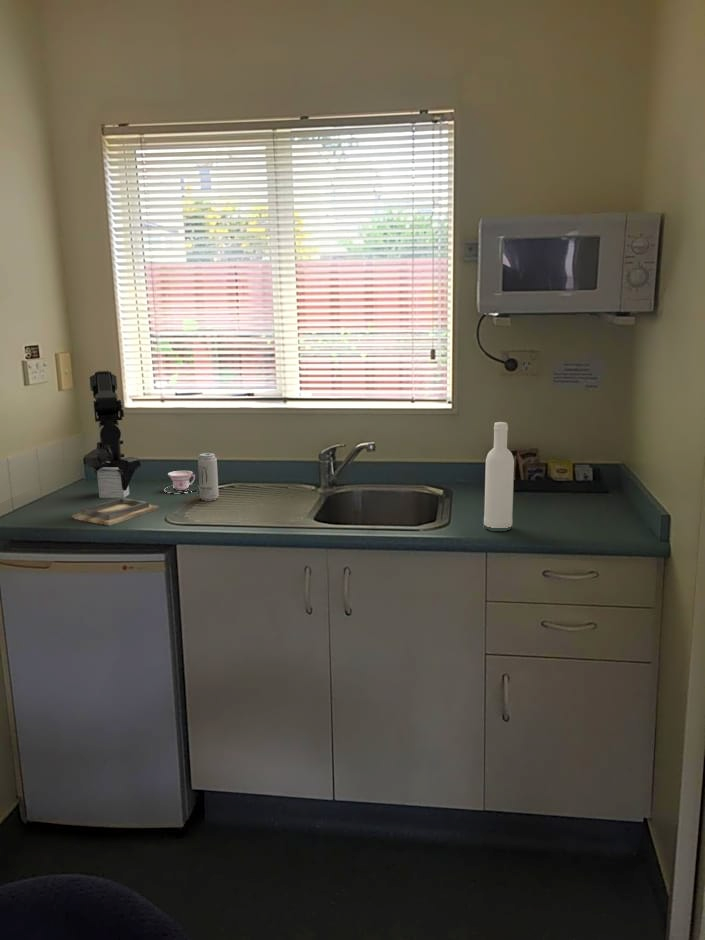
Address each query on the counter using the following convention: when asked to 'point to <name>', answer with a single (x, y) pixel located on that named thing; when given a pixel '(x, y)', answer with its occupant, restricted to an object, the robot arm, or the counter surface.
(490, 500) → the bottle
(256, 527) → the counter surface
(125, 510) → the holder
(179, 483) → the teacup
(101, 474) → the medicine box
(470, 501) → the counter surface
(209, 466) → the energy drink can
